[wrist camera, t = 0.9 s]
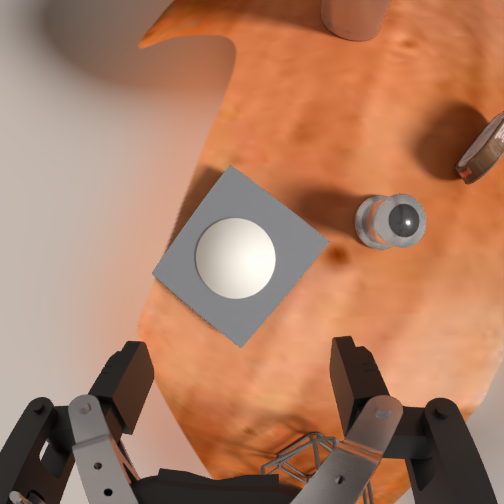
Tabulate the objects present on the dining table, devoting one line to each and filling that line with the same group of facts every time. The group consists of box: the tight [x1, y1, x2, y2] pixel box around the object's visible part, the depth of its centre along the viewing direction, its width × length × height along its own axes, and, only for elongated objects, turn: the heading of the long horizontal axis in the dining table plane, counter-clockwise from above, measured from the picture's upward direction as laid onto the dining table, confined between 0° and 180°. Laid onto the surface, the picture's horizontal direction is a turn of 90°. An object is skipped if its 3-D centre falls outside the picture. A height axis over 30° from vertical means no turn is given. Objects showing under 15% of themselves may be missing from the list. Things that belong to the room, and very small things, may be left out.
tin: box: [455, 112, 504, 185], centre depth 28 cm, size 15×3×8 cm, turn 134°
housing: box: [354, 194, 426, 250], centre depth 31 cm, size 7×7×10 cm
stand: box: [152, 165, 330, 348], centre depth 36 cm, size 16×14×4 cm
